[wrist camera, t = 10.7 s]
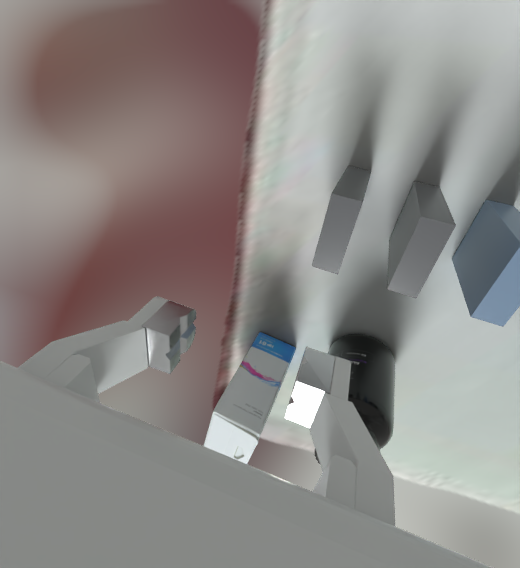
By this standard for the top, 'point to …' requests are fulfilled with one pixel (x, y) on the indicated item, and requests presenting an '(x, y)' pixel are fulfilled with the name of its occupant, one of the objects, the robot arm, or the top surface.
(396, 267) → the domino
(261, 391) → the ink box
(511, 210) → the domino
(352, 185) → the domino
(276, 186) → the top surface
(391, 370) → the supplement bottle
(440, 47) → the top surface
